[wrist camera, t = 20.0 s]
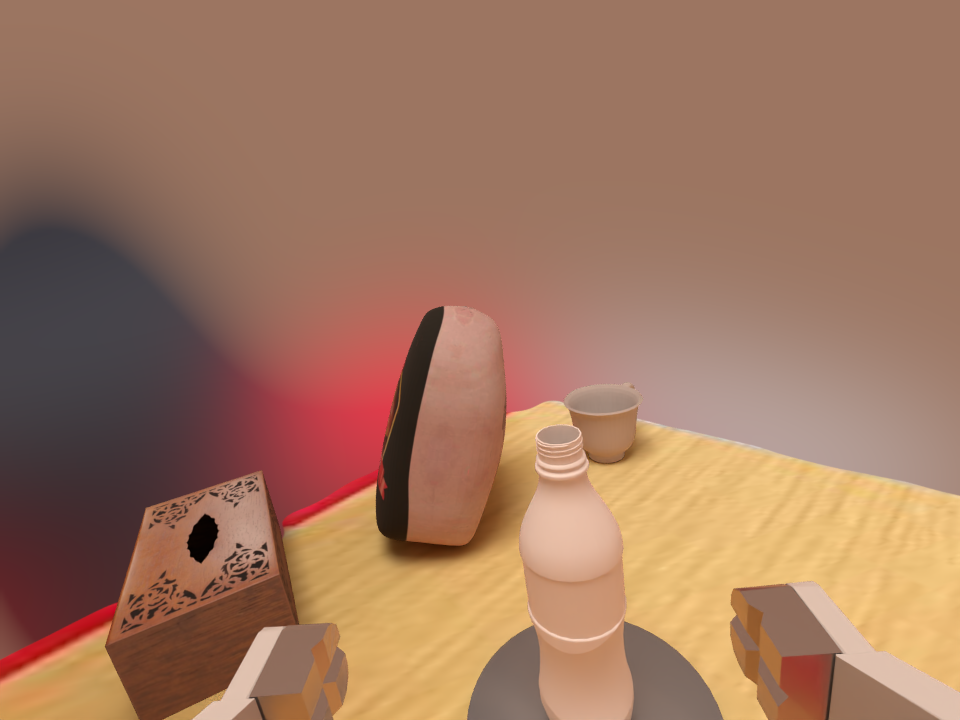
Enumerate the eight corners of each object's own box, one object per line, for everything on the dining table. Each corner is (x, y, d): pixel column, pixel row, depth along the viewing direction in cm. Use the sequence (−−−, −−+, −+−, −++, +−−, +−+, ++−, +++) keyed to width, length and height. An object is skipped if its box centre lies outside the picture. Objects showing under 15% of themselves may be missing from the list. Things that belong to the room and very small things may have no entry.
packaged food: (392, 487, 80) (352, 306, 71) (511, 466, 80) (486, 285, 72) (377, 584, 59) (317, 345, 50) (538, 555, 60) (507, 314, 51)
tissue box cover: (304, 653, 51) (279, 574, 48) (144, 730, 45) (104, 646, 42) (280, 528, 73) (261, 470, 70) (170, 570, 68) (146, 508, 65)
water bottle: (530, 693, 42) (489, 427, 34) (605, 663, 43) (581, 403, 36) (568, 781, 35) (527, 474, 28) (655, 742, 37) (638, 442, 29)
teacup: (667, 440, 81) (665, 384, 78) (620, 482, 72) (616, 420, 69) (604, 425, 90) (600, 374, 87) (554, 460, 80) (548, 404, 77)
